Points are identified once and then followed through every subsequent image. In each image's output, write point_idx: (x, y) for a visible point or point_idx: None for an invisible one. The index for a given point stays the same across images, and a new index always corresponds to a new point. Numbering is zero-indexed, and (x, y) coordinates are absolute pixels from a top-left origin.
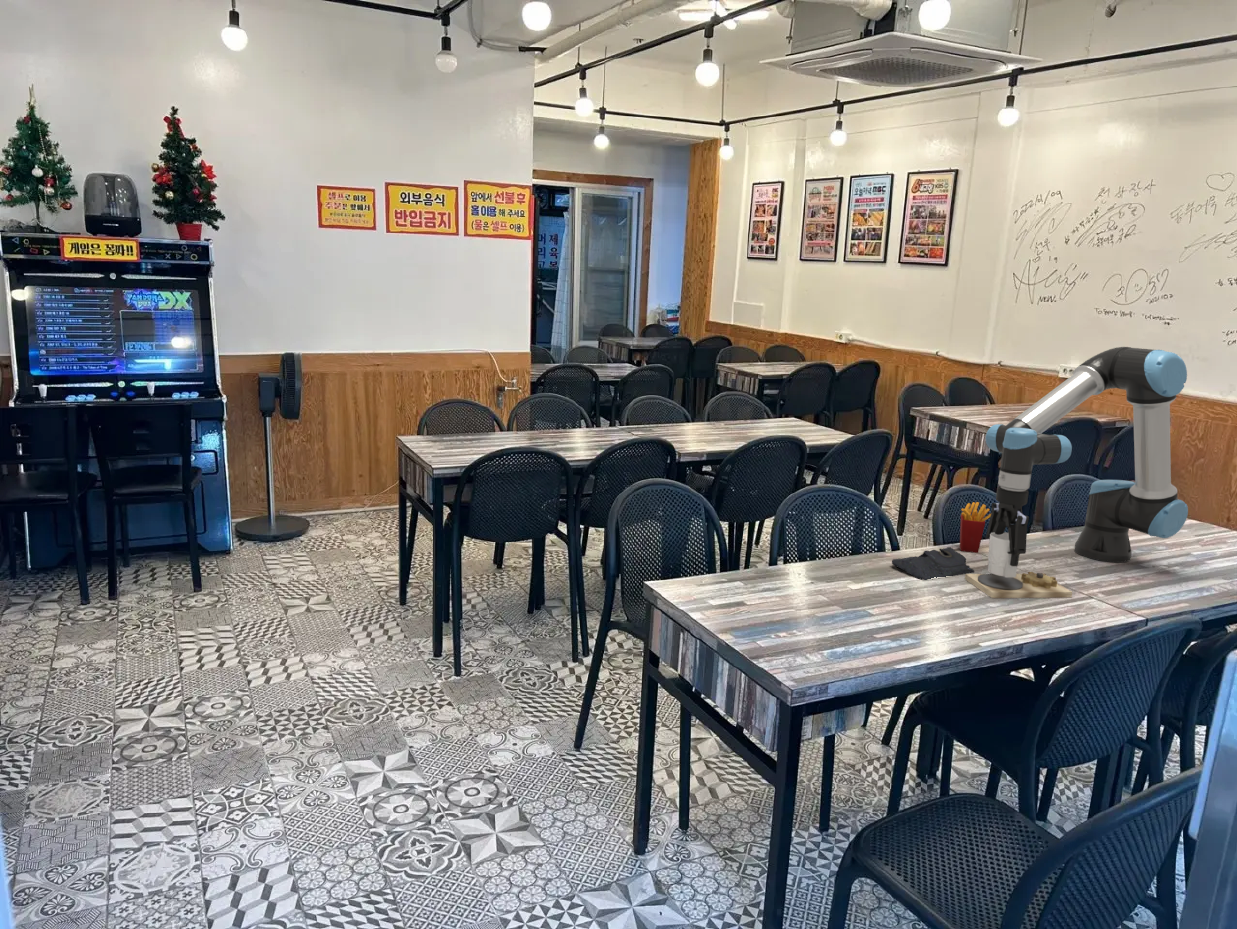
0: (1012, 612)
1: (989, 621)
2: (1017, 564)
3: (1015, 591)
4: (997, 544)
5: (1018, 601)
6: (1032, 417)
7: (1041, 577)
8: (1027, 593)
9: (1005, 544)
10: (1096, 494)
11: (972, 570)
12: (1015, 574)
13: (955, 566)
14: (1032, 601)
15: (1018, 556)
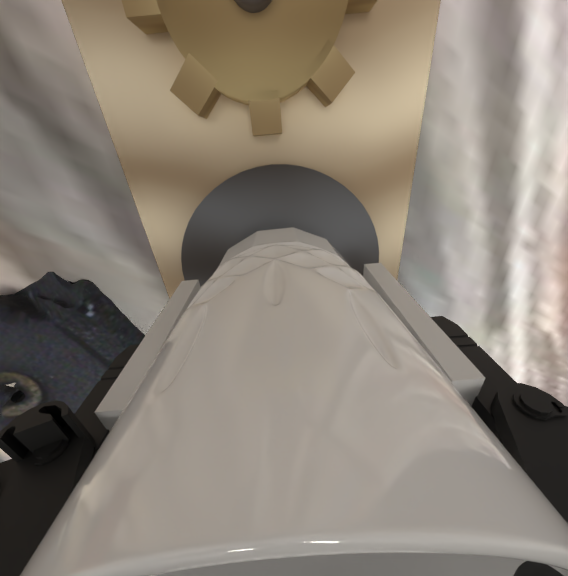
0: (508, 310)
1: (533, 385)
2: (457, 328)
3: (392, 248)
4: (377, 556)
5: (427, 245)
6: None
7: None
8: (407, 190)
9: (453, 559)
10: None
11: (89, 293)
12: (386, 273)
13: (108, 362)
14: (441, 182)
15: (508, 381)
